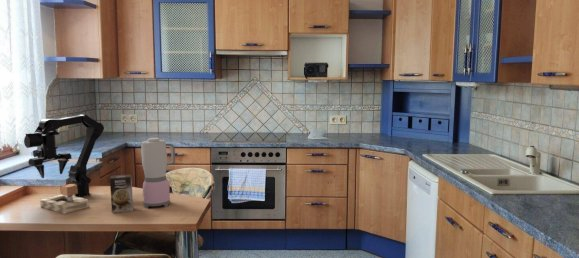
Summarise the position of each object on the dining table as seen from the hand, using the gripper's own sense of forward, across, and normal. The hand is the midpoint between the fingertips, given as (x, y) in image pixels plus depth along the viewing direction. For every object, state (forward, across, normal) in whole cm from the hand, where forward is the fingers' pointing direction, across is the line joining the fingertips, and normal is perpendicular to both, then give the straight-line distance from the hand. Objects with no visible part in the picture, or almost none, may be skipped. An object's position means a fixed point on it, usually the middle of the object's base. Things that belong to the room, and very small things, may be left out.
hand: (52, 176), depth 224 cm
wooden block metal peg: (+13, +3, +18) cm, 22 cm away
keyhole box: (+13, +2, +13) cm, 18 cm away
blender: (+13, -22, +50) cm, 57 cm away
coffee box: (+13, -8, +42) cm, 44 cm away
